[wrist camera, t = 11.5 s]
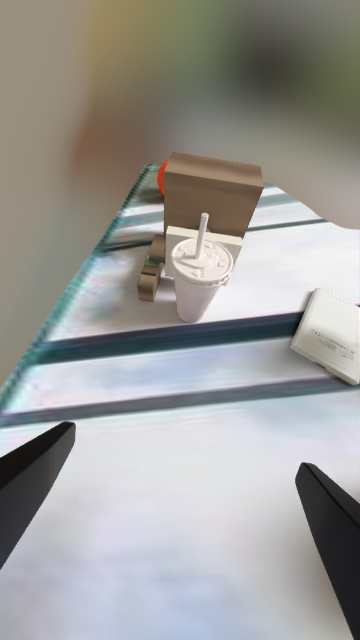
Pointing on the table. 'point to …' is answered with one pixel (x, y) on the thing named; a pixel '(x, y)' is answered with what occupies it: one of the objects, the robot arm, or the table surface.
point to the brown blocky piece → (202, 204)
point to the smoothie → (198, 273)
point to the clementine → (162, 176)
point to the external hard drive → (330, 335)
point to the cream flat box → (180, 234)
